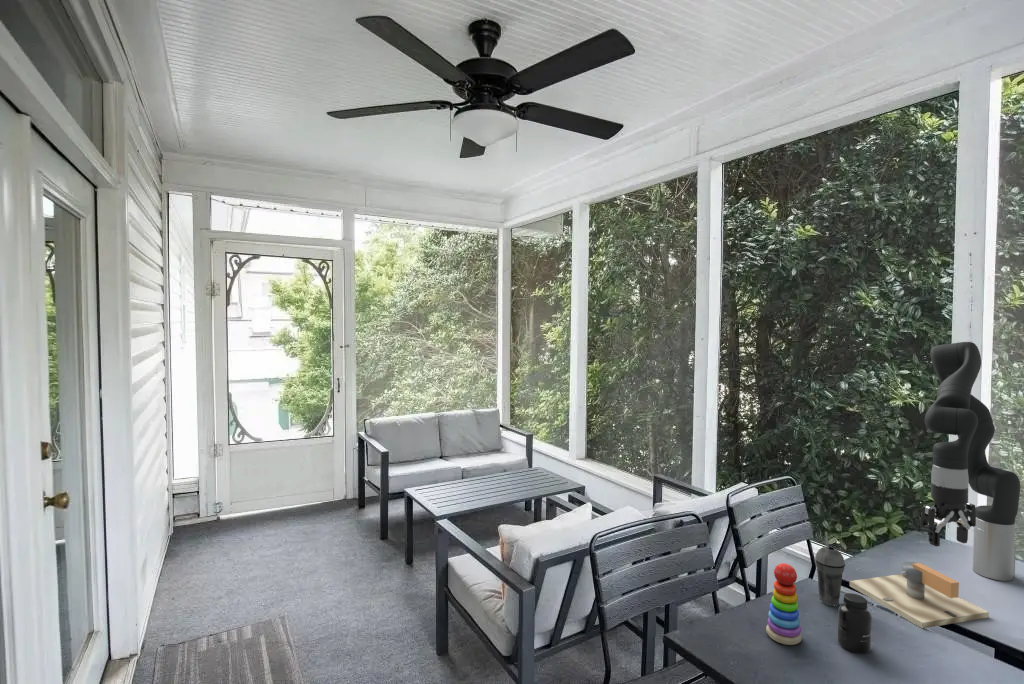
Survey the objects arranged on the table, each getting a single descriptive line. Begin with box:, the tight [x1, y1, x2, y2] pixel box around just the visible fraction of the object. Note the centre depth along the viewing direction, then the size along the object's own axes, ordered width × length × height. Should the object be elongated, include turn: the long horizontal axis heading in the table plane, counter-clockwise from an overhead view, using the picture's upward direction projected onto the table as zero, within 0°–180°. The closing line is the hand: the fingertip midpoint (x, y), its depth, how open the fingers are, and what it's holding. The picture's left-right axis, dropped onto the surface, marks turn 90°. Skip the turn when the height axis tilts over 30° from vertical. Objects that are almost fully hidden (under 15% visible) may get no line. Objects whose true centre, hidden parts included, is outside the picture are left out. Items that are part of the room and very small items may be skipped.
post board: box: [849, 573, 990, 629], centre depth 147 cm, size 22×22×6 cm
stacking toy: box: [765, 562, 803, 646], centre depth 131 cm, size 8×8×19 cm
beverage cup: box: [814, 531, 846, 607], centre depth 147 cm, size 7×7×20 cm
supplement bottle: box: [837, 592, 873, 655], centre depth 127 cm, size 7×7×12 cm
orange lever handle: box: [901, 561, 960, 598], centre depth 143 cm, size 14×8×4 cm, turn 9°
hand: (948, 543), depth 138 cm, fingers open, 8 cm apart
